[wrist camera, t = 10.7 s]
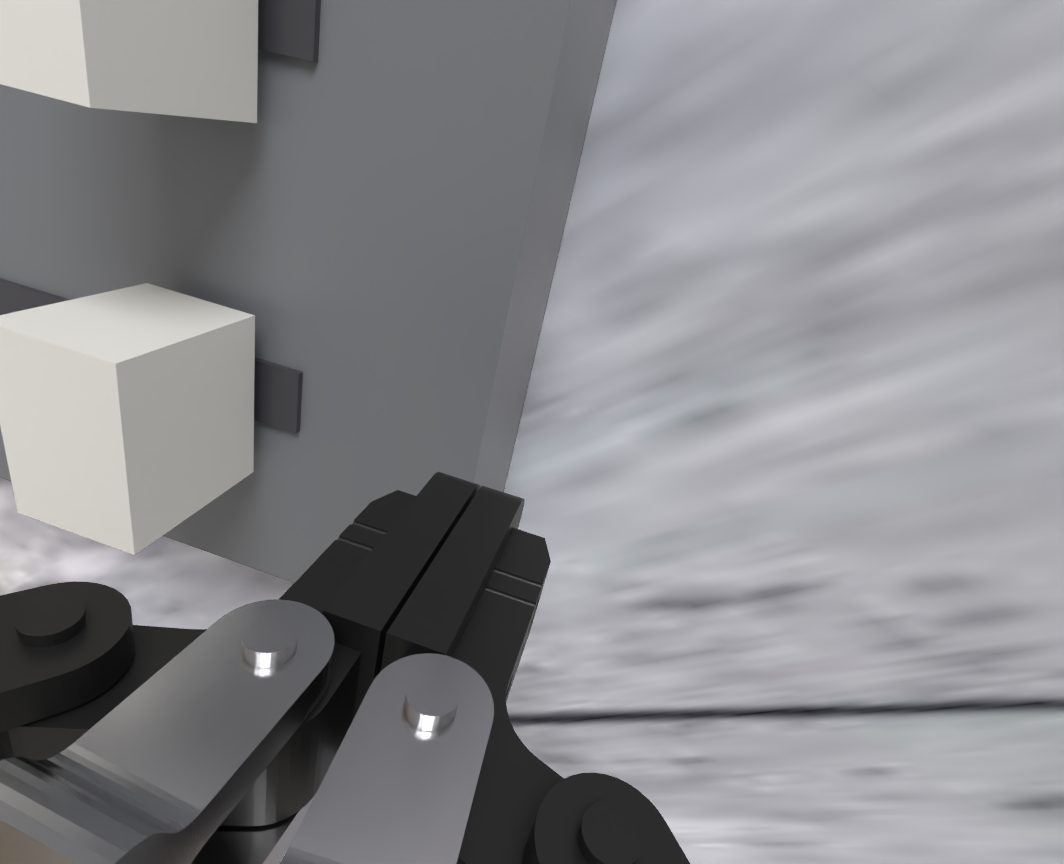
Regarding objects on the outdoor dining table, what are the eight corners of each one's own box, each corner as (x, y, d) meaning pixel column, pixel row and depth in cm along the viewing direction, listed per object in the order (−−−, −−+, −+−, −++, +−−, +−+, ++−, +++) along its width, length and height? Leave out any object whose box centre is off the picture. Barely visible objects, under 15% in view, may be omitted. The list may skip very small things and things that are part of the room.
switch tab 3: (255, 315, 12) (115, 363, 9) (253, 471, 13) (134, 554, 11) (146, 283, 12) (-21, 319, 9) (158, 440, 14) (17, 512, 11)
